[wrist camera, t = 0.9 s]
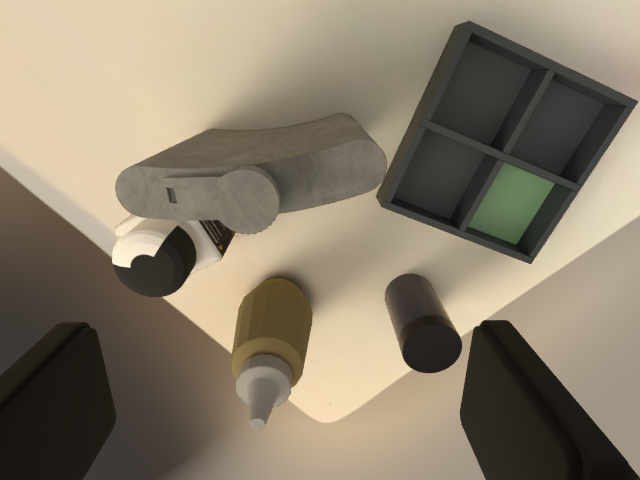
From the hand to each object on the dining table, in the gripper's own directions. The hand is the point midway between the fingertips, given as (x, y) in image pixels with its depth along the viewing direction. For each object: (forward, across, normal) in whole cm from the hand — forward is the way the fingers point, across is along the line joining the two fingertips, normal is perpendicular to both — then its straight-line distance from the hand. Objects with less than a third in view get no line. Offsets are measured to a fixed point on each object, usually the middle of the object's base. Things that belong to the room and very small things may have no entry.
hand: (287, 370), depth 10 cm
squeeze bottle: (+33, +4, +16) cm, 37 cm away
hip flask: (+32, +3, -2) cm, 32 cm away
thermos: (+32, -12, +16) cm, 38 cm away
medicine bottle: (+32, +13, +6) cm, 35 cm away
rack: (+32, -18, -1) cm, 37 cm away
